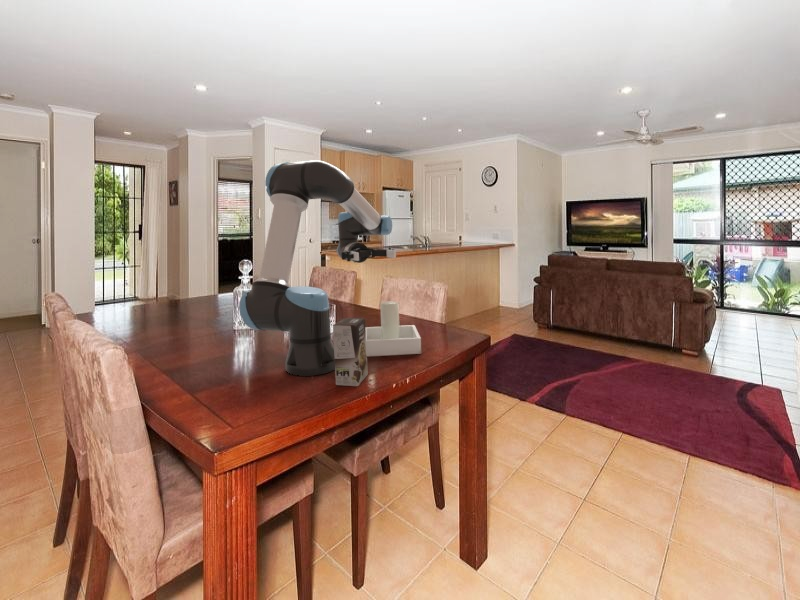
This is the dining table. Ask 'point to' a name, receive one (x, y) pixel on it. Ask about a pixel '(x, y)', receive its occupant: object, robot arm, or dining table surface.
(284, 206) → the robot arm
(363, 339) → the coffee box
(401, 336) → the tote
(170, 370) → the dining table surface
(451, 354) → the dining table surface
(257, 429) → the dining table surface
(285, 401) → the dining table surface
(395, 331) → the canister
